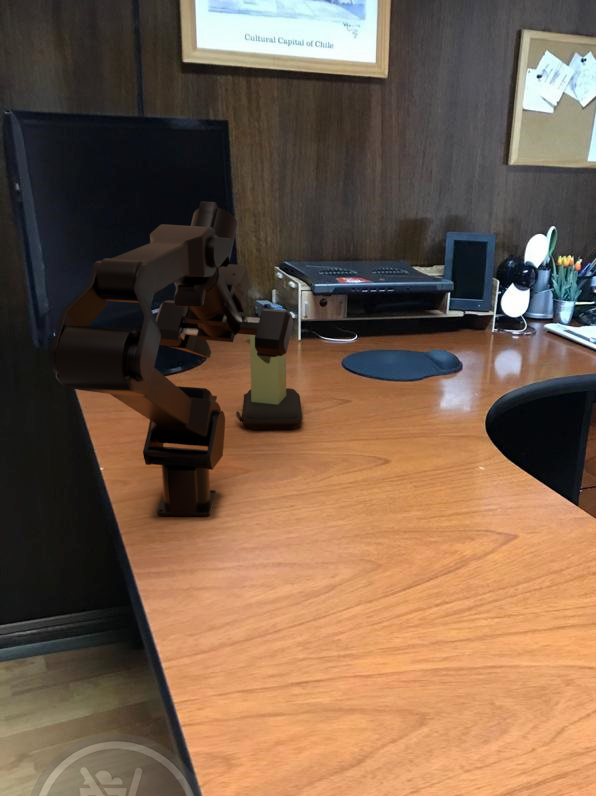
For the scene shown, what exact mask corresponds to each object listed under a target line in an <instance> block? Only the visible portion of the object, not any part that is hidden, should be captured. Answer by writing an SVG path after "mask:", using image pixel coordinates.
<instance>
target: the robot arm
mask: <svg viewBox="0 0 596 796" xmlns="http://www.w3.org/2000/svg"><path fill="white" fill-rule="evenodd" d="M237 228H238V220H237V219H236V217H234V216H233V215H232V214H231V213H230V212H228V211H227V210H225V209H223V208H220V207H218V204H217V202H216V201H215V202H214V201H200V203H199V208H197V209H196V210H195V211H194V212H193V215H192V219H191V223H190V225H182V224H181V225H180V224H179V225H178V224H163V223H161V224H159V226H157V227H156V228H155V229H154V230H152V232H151V233H150V234H149V243H147V244H144V245H141V246H140V247H137V248H135V249H132V250H129V251H127V252H124V253H121V254H119V255H117V256H114V257H112V258H108V257H107V258H106V257H105V258H103V259H102V260H97V261H95V263H94V264H93V266H92V268H91V272H90V276H89V279H88V283H87V284H86V285H85V286H84V287H83V288H82V290H81V291H80V292H79V293H77V294H76V296H75V297H73V299H72V300H70V302H69V303H68V304H67V305H66V306H64V308H63V309H62V310H61V313H60V316H59V319H58V323H57V326H56V329H55V333H54V336H53V340H52V344H51V346H50V351H49V362H50V366H51V370H52V371H53V373H54V374H55V378H56V379H57V381H58V383H60V385H62V386H63V387H64V388H67V389H72V390H77V391H84V392H93V393H98V394H99V393H100V394H107V395H111V396H112V397H114V398H116V399H117V400H118V401H119V402H121V403H122V404H124V405H126V406H127V407H129V408H130V409H132V410H134V411H135V412H137V413H138V414H140V415H142V416H143V417H144V418H146V419H148V420H149V422H148V428H147V434H146V437H145V442H144V445H143V450H142V455H143V459H144V463H145V465H146V466H151V465H152V466H153V465H156V466H161V476H162V477H161V478H162V492H163V494H162V498H161V500H160V502H159V505H158V507H157V509H156V515H157V516H160V517H161V516H163V517H164V516H169V517H171V516H172V517H173V516H175V517H177V516H179V517H181V516H182V517H184V516H185V517H209V516H210V515H211V513H212V509H213V507H214V503H215V500H216V497H217V491H216V490H215V489H214V490H213V489H211V487H210V484H211V483H210V471H213V470H214V469H215V468H216V466H217V465H218V463H219V462H220V461H221V459H222V458H223V456H224V443H225V430H226V429H225V428H226V416H225V412H224V411H223V410H222V409H221V408H222V407H221V406H220V404H219V403H218V401H217V399H218V396H217V395H213V394H212V392H211V391H210V390H209V389H208V388H206V387H192V386H181V385H180V386H178V385H176V384H175V383H173V382H172V381H171V380H170V379H169V378H168V377H167V376H166V375H164V374H163V373H162V372H161V371H159V370H158V369H157V368H156V367H155V365H156V361H157V356H158V352H159V347H160V346H167V347H169V348H171V349H176V350H180V351H184V352H187V353H191V354H195V355H197V356H201V357H204V358H207V359H210V358H211V355H212V350H211V347H210V344H209V342H208V341H214V342H224V343H234V340H235V336H237V335H248V336H250V335H255V349H256V351H258V352H257V356H259V357H260V358H261V359H262V360H263V361H264V362H265V363H268V364H269V363H270V360H271V357H277V356H283V355H284V354H286V355H287V353H288V349H289V343H290V340H291V335H292V332H293V327H294V323H295V321H294V317H293V315H292V313H290V311H289V309H276V308H263V309H261V311H260V316H259V317H256V316H255V317H253V316H243V315H242V316H241V314H243V313H246V308H247V304H246V301H245V298H246V295H247V293H248V291H250V289H251V283H250V277H249V272H248V267H247V266H246V265H245V264H244V265H243V264H233V263H231V264H230V261H231V257H232V251H233V247H234V242H235V238H236V234H237V233H236V232H237ZM172 284H174V286H175V292H174V296H173V300H169V299H168V300H165V301H162V303H160V304H159V308H158V311H157V314H156V317H155V315H154V313H153V310H152V304H153V300H154V295H155V294H156V293H158V292H159V291H161V290H163V289H164V288H167V287H168V286H170V285H172ZM108 302H123V303H134V304H135V303H136V304H139V307H140V309H141V311H142V314H143V321H142V325H141V329H134V328H119V327H118V328H116V327H105V326H104V327H103V326H89V325H90V324H91V323H92V322H93V321H94V320H95V319H96V318H97V317H98V316H99V315H100V313H101V312H103V310H104V309H106V308H107V307H106V306H107V305H108ZM164 444H169V445H184V446H197V447H207V449H199V448H188V447H176V446H175V447H173V446H164Z"/></svg>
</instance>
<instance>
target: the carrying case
mask: <svg viewBox="0 0 596 796" xmlns="http://www.w3.org/2000/svg"><path fill="white" fill-rule="evenodd" d="M235 416H236V418H237V420H238V421H239V422H240V423H243V424H245V426H246V427H247V428H249V429H252V430H280V429H281V430H291V429H293V430H294V429H296V428H298V427H299V425H300V424H302V422H303V411H302V402H301V395H300V394H299V393H298V392H297V391H296V389H294V388H290V387H286V397H285V398H284V399H283V400H282V401H281V402H280V403H279V404H278V405H276V404H266V403H257V402H251V388H250V389H249V390H248V391H247V392H246V393H244V394H243V402H242V410H241V413H240V412H239V410H236V412H235Z"/></svg>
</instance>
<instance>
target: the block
mask: <svg viewBox="0 0 596 796" xmlns="http://www.w3.org/2000/svg"><path fill="white" fill-rule="evenodd" d="M249 344H250V345H249V349H250V352H249V353H250V354H249V355H250V389H251V402H257V403H266V404H276V405H278V404H279V403H280V402H281V401H282V400H283V399H284V398H285V397H286V388H287V353H286V354H284V355H283V356H277V357H271V360H270V363H269V364H268V363H265V362H264V361H263V360H262V359H261V358H260V357H259V356H257V352H258V351H256V349H255V335H249Z"/></svg>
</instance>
